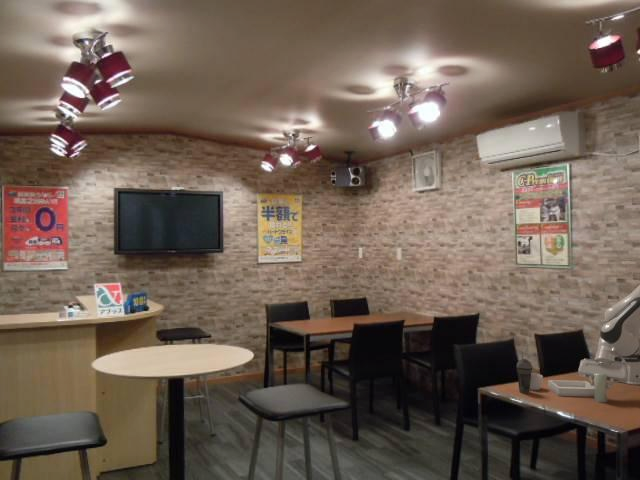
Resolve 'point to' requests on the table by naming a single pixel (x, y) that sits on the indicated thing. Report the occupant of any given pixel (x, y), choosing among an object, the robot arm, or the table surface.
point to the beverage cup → (524, 374)
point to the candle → (535, 381)
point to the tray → (571, 388)
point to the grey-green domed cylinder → (600, 387)
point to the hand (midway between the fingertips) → (600, 386)
